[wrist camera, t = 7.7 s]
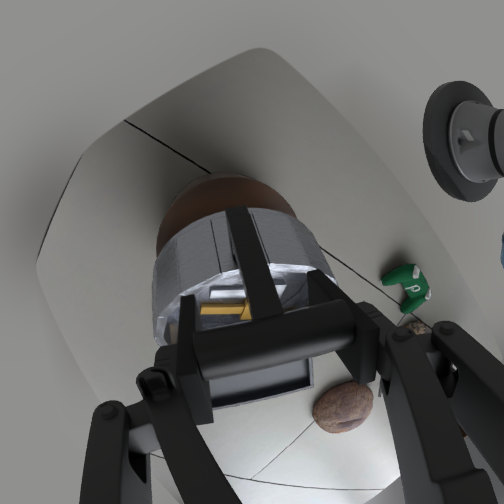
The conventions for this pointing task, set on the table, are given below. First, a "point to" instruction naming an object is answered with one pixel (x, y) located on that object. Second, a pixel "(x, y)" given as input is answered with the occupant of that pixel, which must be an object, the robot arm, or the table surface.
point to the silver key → (241, 291)
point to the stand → (216, 201)
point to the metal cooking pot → (248, 292)
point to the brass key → (227, 309)
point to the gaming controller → (409, 285)
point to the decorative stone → (343, 407)
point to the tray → (261, 384)
